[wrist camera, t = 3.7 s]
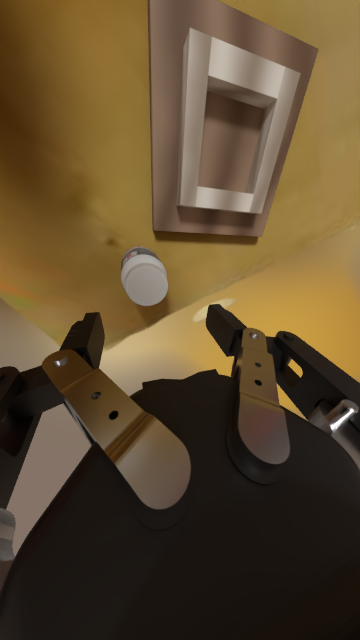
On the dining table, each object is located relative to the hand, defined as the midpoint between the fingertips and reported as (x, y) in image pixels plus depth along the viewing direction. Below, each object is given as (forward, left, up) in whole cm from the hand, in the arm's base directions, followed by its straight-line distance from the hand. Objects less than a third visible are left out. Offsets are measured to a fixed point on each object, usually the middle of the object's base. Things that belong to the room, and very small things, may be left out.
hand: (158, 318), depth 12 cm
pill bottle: (0, 0, -17) cm, 17 cm away
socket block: (+11, +14, -17) cm, 24 cm away
